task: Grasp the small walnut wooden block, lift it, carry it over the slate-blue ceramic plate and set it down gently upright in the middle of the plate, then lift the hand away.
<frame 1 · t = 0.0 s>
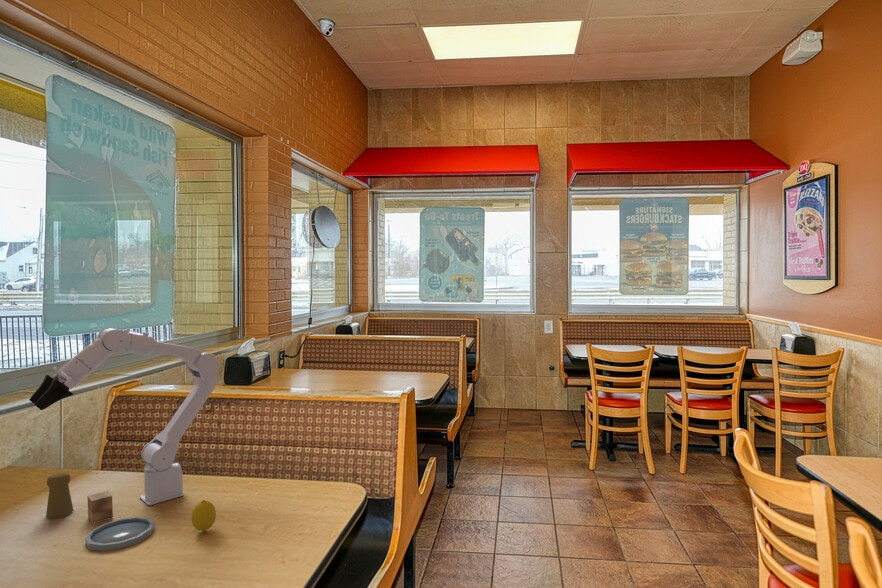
hand: (35, 405, 129), 32 cm above the table, tool tilted 50°, fingers open, 7 cm apart
cork: (59, 514, 140), on the table
lemon: (204, 532, 129), on the table
block: (100, 517, 137), on the table
plate: (121, 535, 128), on the table
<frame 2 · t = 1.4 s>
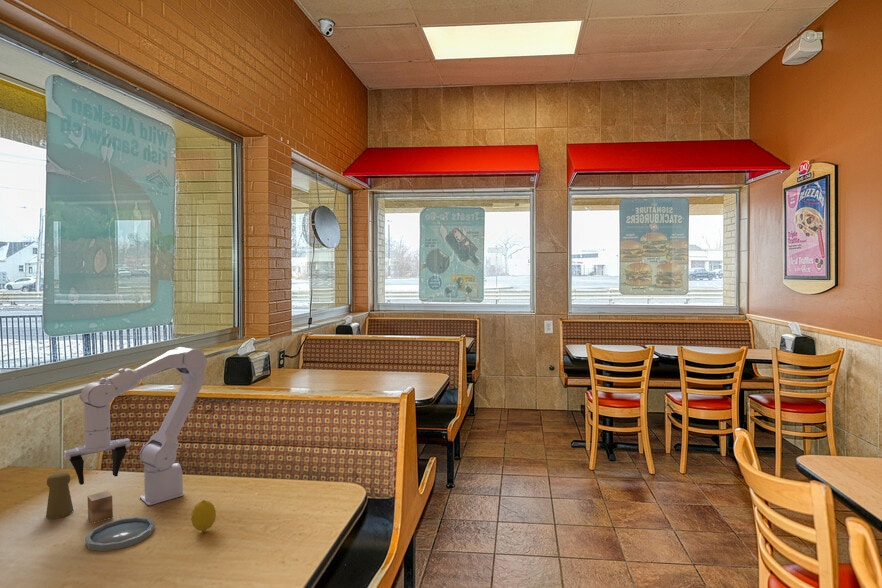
hand: (98, 479, 137), 10 cm above the table, tool pointing down, fingers open, 7 cm apart
nothing on the table moved.
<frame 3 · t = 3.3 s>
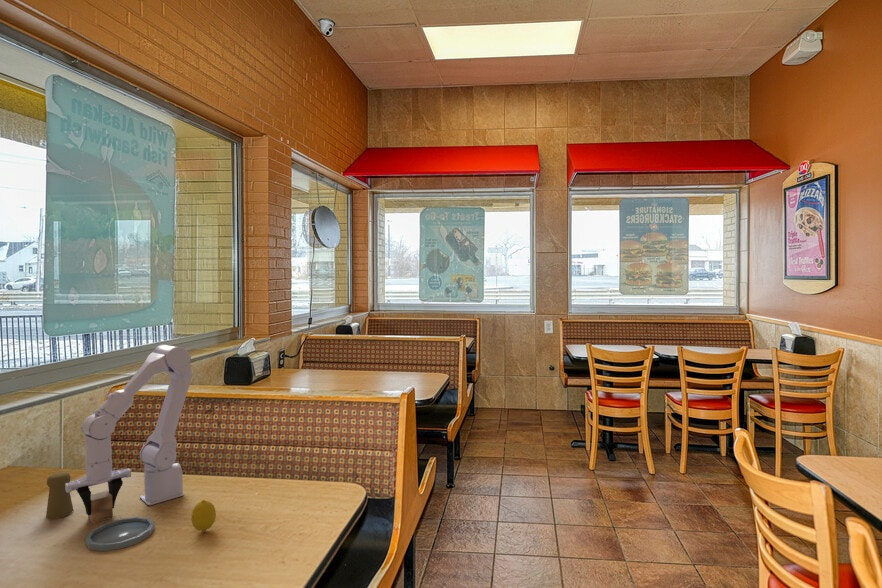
hand: (100, 510, 137), 2 cm above the table, tool pointing down, fingers closed on block, 5 cm apart
block: (100, 517, 137), on the table, touching gripper
everything else where it was.
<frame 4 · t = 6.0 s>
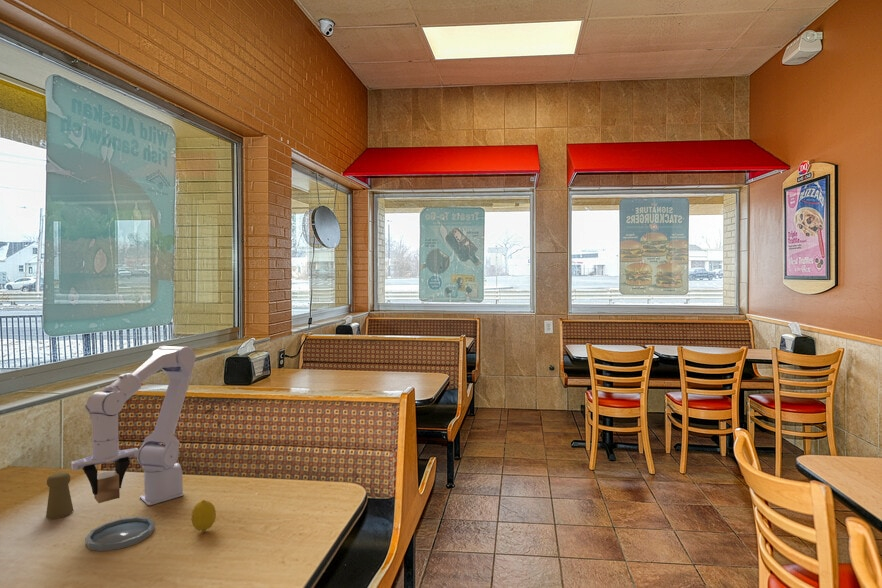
hand: (106, 490, 133), 9 cm above the table, tool pointing down, fingers closed on block, 5 cm apart
block: (107, 497, 133), point 7 cm above the table, touching gripper
everything else where it was.
when the fingers open (4 cm above the table, at t = 8.7 s): block drops 1 cm, resting on plate.
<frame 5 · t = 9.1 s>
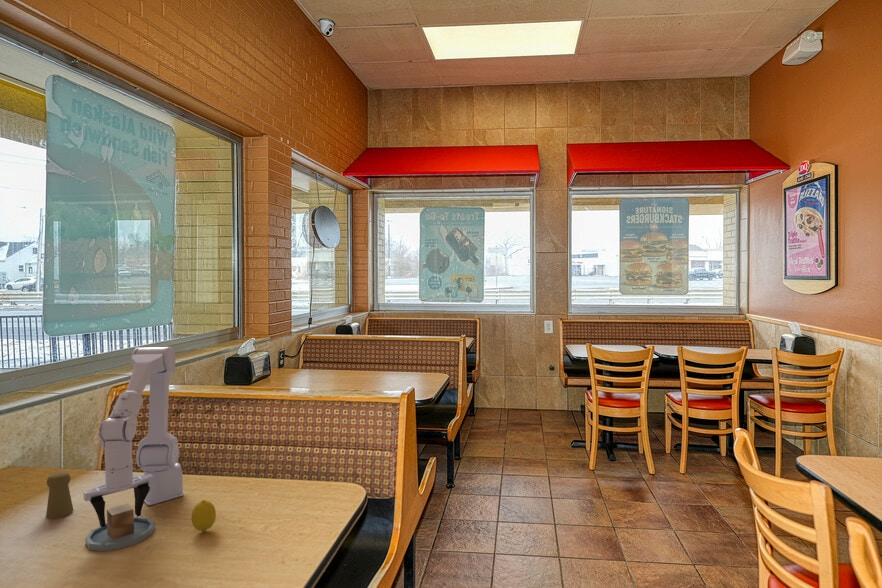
hand: (120, 520, 128), 4 cm above the table, tool pointing down, fingers open, 7 cm apart
block: (120, 533, 128), point 1 cm above the table, touching plate
everything else where it was.
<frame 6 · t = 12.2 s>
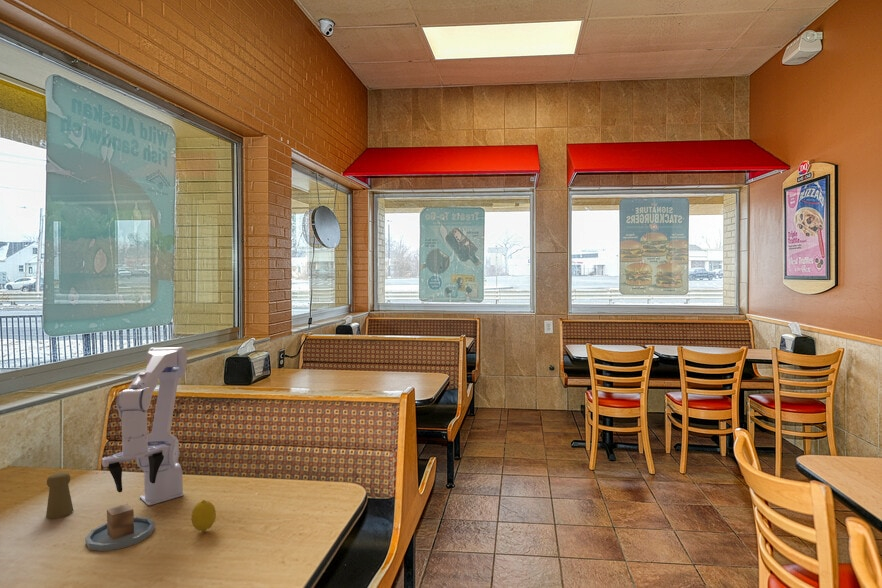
hand: (136, 486, 134), 9 cm above the table, tool pointing down, fingers open, 7 cm apart
nothing on the table moved.
at the end: block inside the target area on the plate (0.1 cm from its centre), point 0.6 cm above the plate's base; block tilted 0°; the gripper is holding nothing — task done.
